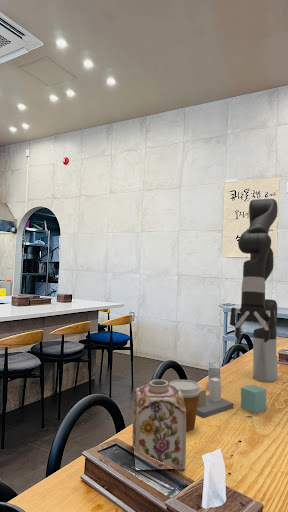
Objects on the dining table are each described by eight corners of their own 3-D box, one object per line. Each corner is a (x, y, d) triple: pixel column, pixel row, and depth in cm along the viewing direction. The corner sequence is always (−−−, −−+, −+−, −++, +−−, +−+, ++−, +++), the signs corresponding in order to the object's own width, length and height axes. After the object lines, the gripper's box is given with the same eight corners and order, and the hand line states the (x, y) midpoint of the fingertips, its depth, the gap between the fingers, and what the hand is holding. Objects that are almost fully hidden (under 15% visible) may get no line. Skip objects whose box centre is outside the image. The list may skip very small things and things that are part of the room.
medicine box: (220, 391, 128) (220, 368, 128) (208, 390, 128) (208, 367, 129) (219, 384, 135) (220, 362, 136) (208, 383, 136) (208, 361, 136)
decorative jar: (186, 471, 77) (187, 390, 78) (134, 472, 76) (136, 390, 77) (176, 444, 89) (178, 374, 89) (132, 445, 88) (133, 374, 89)
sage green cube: (251, 403, 116) (251, 384, 117) (265, 409, 112) (266, 389, 112) (240, 407, 113) (241, 387, 113) (255, 413, 108) (255, 392, 109)
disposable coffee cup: (202, 422, 102) (203, 381, 102) (196, 437, 93) (197, 392, 93) (171, 417, 105) (172, 377, 105) (163, 431, 96) (163, 387, 96)
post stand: (211, 398, 121) (211, 373, 121) (233, 407, 113) (233, 381, 113) (181, 406, 113) (181, 380, 113) (203, 417, 105) (203, 389, 105)
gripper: (277, 293, 115) (276, 342, 112) (234, 291, 121) (232, 338, 119) (274, 291, 108) (273, 344, 106) (229, 289, 115) (227, 338, 112)
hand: (251, 340), depth 112 cm, fingers open, 8 cm apart
